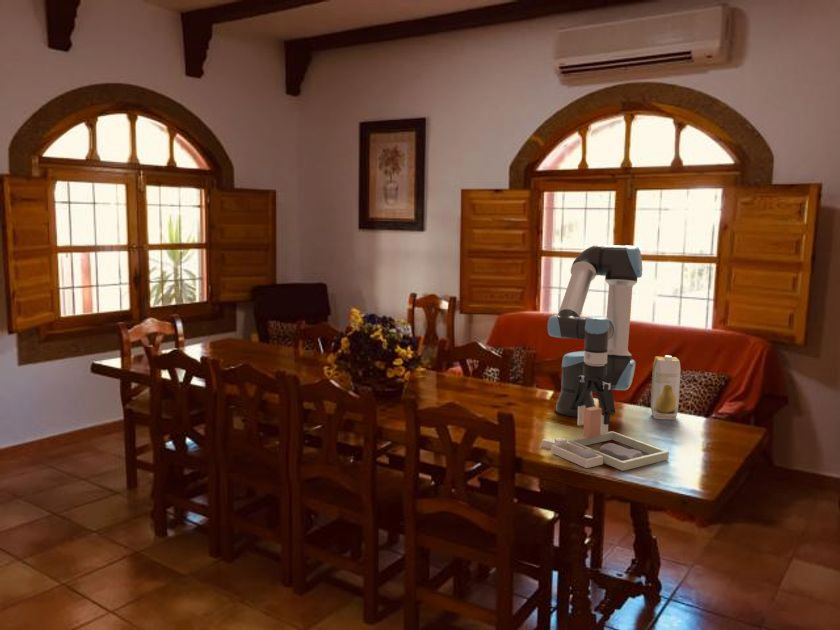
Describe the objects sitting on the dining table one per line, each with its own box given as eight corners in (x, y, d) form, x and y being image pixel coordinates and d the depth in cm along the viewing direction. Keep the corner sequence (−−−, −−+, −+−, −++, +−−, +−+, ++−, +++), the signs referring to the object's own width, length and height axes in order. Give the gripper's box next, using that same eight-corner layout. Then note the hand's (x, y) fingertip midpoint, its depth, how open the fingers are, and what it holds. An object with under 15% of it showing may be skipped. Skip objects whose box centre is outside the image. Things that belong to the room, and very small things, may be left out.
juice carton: (652, 419, 269) (656, 356, 266) (649, 413, 277) (652, 352, 273) (678, 420, 268) (682, 357, 264) (674, 414, 276) (678, 353, 272)
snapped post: (542, 446, 239) (542, 439, 238) (546, 445, 241) (546, 438, 240) (554, 450, 236) (554, 443, 235) (558, 448, 237) (558, 441, 237)
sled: (549, 451, 232) (550, 439, 232) (565, 448, 236) (566, 436, 235) (586, 468, 218) (586, 455, 218) (602, 464, 222) (603, 451, 221)
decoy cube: (576, 462, 224) (576, 450, 223) (585, 460, 226) (586, 448, 226) (585, 466, 221) (585, 454, 220) (594, 464, 223) (595, 452, 222)
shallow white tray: (565, 446, 237) (567, 411, 236) (610, 437, 248) (611, 403, 246) (622, 470, 216) (624, 432, 214) (668, 459, 226) (670, 422, 225)
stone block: (611, 456, 236) (595, 457, 228) (614, 441, 235) (598, 442, 228) (644, 467, 227) (629, 468, 220) (647, 452, 227) (632, 453, 220)
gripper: (563, 358, 245) (560, 421, 248) (612, 371, 226) (609, 440, 229) (579, 356, 249) (577, 418, 252) (629, 369, 229) (625, 436, 233)
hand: (592, 428), depth 240 cm, fingers open, 10 cm apart
